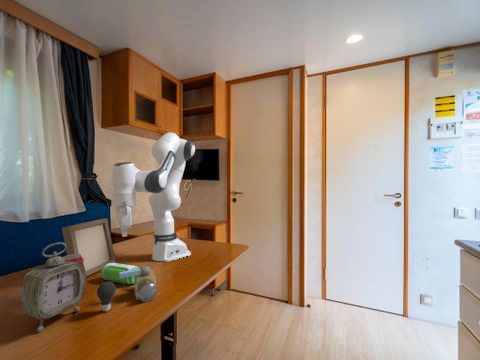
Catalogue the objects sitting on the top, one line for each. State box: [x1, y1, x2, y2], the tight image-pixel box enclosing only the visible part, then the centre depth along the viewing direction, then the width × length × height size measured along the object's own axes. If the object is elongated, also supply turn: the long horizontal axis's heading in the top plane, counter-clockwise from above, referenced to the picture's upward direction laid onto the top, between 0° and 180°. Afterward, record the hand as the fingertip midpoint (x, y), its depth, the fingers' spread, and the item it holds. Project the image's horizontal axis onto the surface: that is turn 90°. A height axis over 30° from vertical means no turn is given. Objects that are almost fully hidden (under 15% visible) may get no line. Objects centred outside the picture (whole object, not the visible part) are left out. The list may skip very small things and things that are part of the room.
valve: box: [133, 268, 158, 303], centre depth 89 cm, size 7×14×8 cm, turn 32°
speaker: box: [100, 262, 140, 285], centre depth 101 cm, size 18×7×8 cm, turn 71°
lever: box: [119, 265, 151, 278], centre depth 87 cm, size 11×4×2 cm, turn 122°
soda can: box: [61, 254, 84, 265], centre depth 90 cm, size 8×8×15 cm
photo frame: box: [61, 217, 117, 278], centre depth 112 cm, size 15×22×25 cm
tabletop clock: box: [20, 241, 87, 333], centre depth 73 cm, size 14×9×25 cm, turn 160°
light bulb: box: [96, 281, 117, 312], centre depth 77 cm, size 6×6×10 cm
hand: (123, 234), depth 91 cm, fingers open, 4 cm apart
